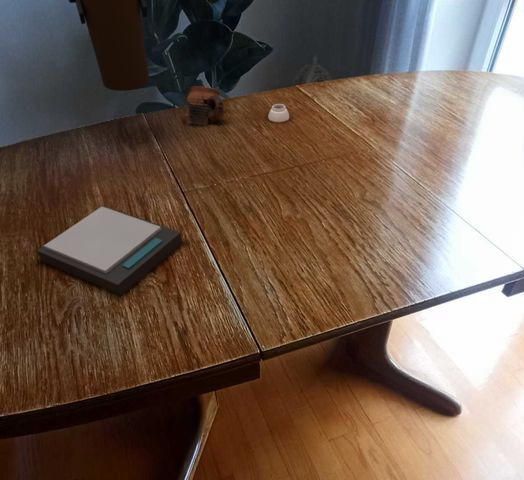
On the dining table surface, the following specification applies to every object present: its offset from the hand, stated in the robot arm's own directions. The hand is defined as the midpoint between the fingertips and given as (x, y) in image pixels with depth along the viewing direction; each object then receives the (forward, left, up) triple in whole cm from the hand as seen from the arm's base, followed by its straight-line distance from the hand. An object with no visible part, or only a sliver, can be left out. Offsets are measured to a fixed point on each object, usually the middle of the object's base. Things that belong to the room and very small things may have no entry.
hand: (114, 15), depth 84 cm
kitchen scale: (+22, -33, -24) cm, 46 cm away
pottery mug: (+5, +18, -24) cm, 30 cm away
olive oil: (-2, +2, -12) cm, 13 cm away
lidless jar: (+20, +26, -24) cm, 41 cm away
